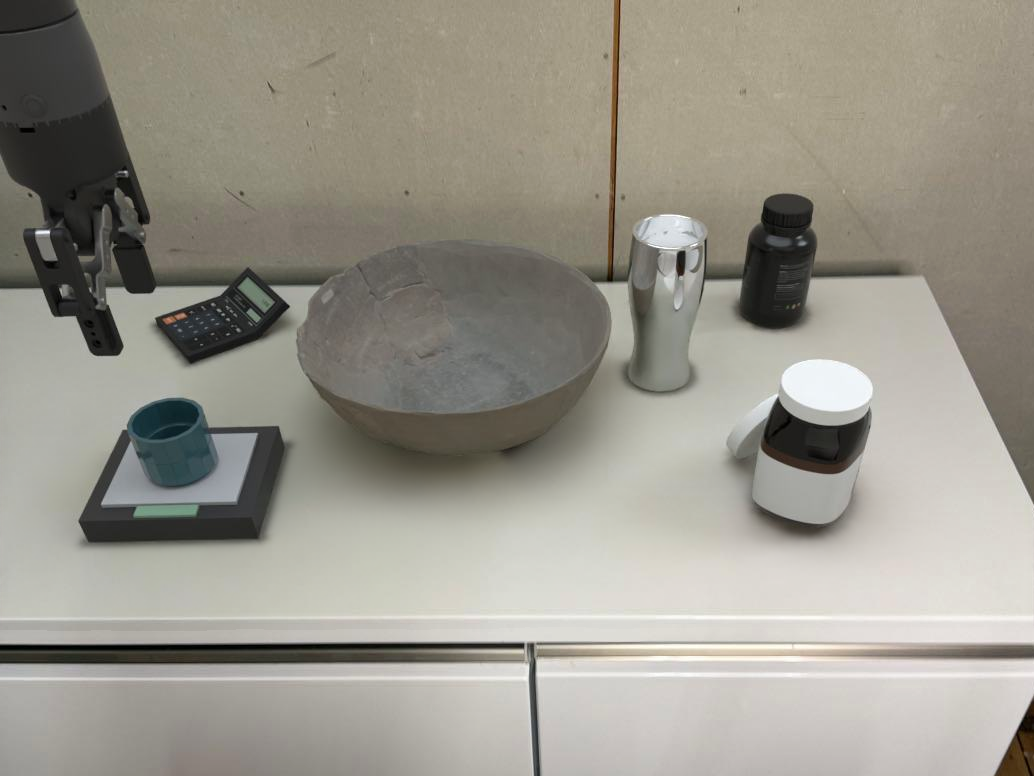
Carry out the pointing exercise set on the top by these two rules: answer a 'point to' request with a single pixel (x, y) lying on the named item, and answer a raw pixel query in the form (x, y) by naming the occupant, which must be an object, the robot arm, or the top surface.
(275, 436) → the kitchen scale
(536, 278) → the bowl
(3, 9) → the robot arm
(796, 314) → the supplement bottle
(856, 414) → the spread jar
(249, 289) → the calculator
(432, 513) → the top surface
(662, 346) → the beer glass
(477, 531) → the top surface
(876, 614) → the top surface
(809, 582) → the top surface
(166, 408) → the teal cup
